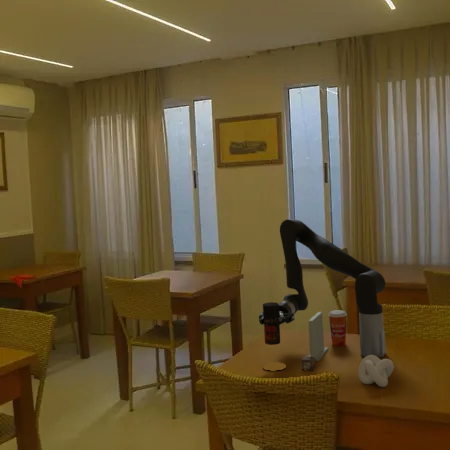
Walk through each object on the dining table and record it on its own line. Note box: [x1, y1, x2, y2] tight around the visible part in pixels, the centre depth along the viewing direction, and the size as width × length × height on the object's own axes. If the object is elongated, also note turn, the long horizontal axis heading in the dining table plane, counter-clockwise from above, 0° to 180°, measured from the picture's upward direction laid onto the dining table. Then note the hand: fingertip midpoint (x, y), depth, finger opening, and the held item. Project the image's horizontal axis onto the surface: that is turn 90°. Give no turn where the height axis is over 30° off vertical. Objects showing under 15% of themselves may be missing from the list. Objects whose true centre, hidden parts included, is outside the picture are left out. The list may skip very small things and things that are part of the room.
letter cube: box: [301, 356, 316, 371], centre depth 213 cm, size 4×4×4 cm
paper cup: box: [327, 309, 348, 347], centre depth 241 cm, size 8×8×14 cm
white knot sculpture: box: [357, 355, 395, 388], centre depth 194 cm, size 11×12×9 cm
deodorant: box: [262, 301, 281, 346], centre depth 216 cm, size 6×6×15 cm
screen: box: [306, 311, 329, 362], centre depth 228 cm, size 5×15×16 cm, turn 156°
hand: (269, 322), depth 213 cm, fingers closed on deodorant, 6 cm apart
